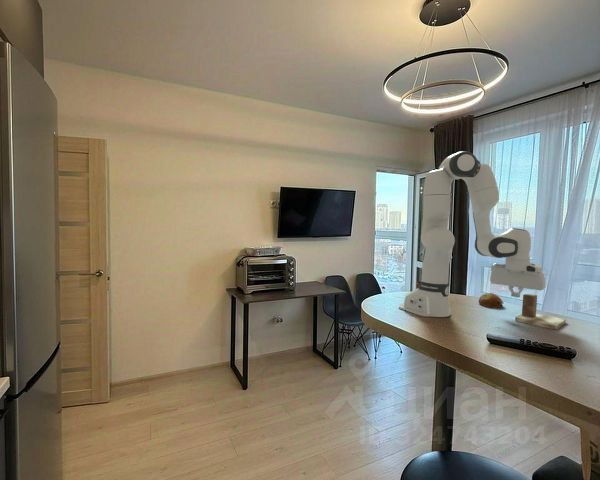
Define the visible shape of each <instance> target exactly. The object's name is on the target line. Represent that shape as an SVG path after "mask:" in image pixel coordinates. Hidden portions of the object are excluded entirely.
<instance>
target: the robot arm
mask: <svg viewBox="0 0 600 480" xmlns="http://www.w3.org/2000/svg"><path fill="white" fill-rule="evenodd" d="M460 179H461V180H463V181H464V182H465V184H466V186H467V191H468V195H469V199H470V203H471V209H472V217H473V222H474V231H475V240H474V248H475V249H474V250H475V251H476V253H478V254H479V255H480V256H483V257H489V258H494V259H502V258H503V259H504V258H505V263H496V262H495V263H493V264H491V266H490V271H491V272H490V277H489V282H490V283H491V284H494V285H501V286H508V290H509V291H510V293H511V294H510V296H511V297H514V298H520V297H521V294H522V292H523V291H524V289H526V290H527V289H529V290H537V291H543V290H545V288H546V277H545V274H544V273H543V270H544V267H543V266H541V265H539V264H536V263H534V262H531V258H530V253H531V249H532V247H531V246H532V244H531V243H532V240H531V233H530V232H529V231H528V230H526V229H522V228H515V227H511V228H508V229H507V231H504V232H502V233H499V234H497V235H494V234H493V232H492V228H491V227H492V226H491V220H490V213H491V211H492V210H493V208H494V207H495V206H497V204H498V202H499V200H500V193H499V188H498V184H497V181H496V177H495V175H494V173H493V170H492V169H491V166H490V165H489V164H488V163H481V161H480V160H478V159H477V157H476V155H475V154H474V153H472V152H470V151H467V150H466V151H465V150H464V151H463V150H462V151H458V152H456V153H452V154H450V155H448V156H447V157H445V158H444V159H442V161H441V162H440V164H439V165H438V167H437V169H435V170H430V171H429V172H428V173H427V174H426V176H425V178H424V184H423V194H422V195H423V199H422V200H423V201H422V202H423V213H422V214H423V215H422V222H421V229H420V232H421V233H420V241H421V244H422V245H423V247H424V250H425V251H424V255H423V260H422V263H421V265H422V266H421V269H422V271H421V280H419V281H416V286H417V288H415V289H413V290H412V291H410V292H409V293H407V294H406V296H405V297H404V302H403V303H400V304H399V305H398V309H400V310H403V311H405V310H406V312H408V313H412V314H415V315H418V316H420V317H429V318H431V317H434V318H447V317H449V316H451V314H452V312H451V309H450V302H449V295H450V294H449V293H450V283H449V274H450V262H451V258H452V255H453V254H452V253H453V248H454V245H455V242H456V238H455V236H454V233H452V231H451V230H450V229H448V225H449V220H450V219H449V217H450V215H451V195H452V194H451V188H452V187H451V186H452V183H453V181H455V180H460ZM515 287H516V288H518V292H516V291H514V289H515Z"/></svg>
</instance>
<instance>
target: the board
mask: <svg viewBox="0 0 600 480" xmlns="http://www.w3.org/2000/svg"><path fill="white" fill-rule="evenodd" d="M514 321H516V322H520V323H524V324H529V325H532V326H538V327H541V328H546V329H552V330H554V331H556V330H558V329H560V328H561V327H562V326H563V325H565V324H566V322H567V321H566V318H561V317H557V316H556V317H555V316H552V315H548V314H547V315H546V314H541V313H540V314H539V313H536V316H535V317H534V318H531V317H526V316H522V313H520V314H518V315H517V316H515V317H514Z"/></svg>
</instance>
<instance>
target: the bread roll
mask: <svg viewBox="0 0 600 480" xmlns="http://www.w3.org/2000/svg"><path fill="white" fill-rule="evenodd" d="M478 304H479V305H480V306H483V307H487V308H493V309H494V308H495V309H499V308H503V304H504V302H503V300H502V299H501V297H500V296H499V295H497V294H494V293H492V292H487V293H484V294H481V296H480V297H479V299H478Z"/></svg>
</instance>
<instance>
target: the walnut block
mask: <svg viewBox="0 0 600 480" xmlns="http://www.w3.org/2000/svg"><path fill="white" fill-rule="evenodd" d="M537 303H538V295H536V294H532V293H531V294H530V293H525V294H523V295H522V309H521V314H522V316H526V317H531V318H534V317H535V316H536V314H537Z"/></svg>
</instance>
